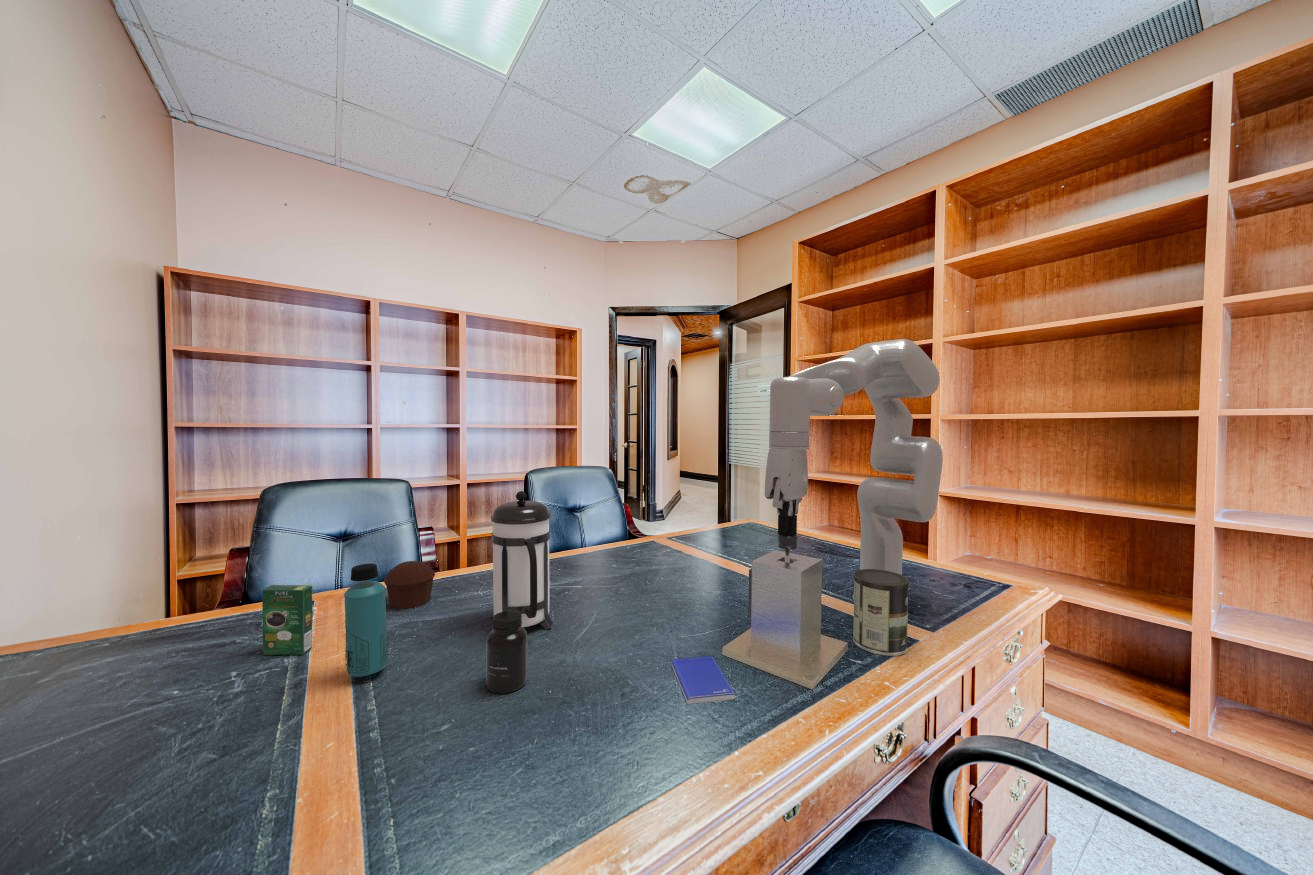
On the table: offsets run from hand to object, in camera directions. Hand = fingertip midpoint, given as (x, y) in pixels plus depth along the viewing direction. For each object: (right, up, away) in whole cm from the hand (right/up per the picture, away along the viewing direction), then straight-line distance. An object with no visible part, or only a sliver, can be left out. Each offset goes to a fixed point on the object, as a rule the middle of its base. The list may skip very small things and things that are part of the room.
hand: (787, 534), depth 92 cm
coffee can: (+20, -24, +5) cm, 32 cm away
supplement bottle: (-52, -24, -10) cm, 58 cm away
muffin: (-87, -22, +25) cm, 93 cm away
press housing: (0, -24, +1) cm, 24 cm away
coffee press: (-55, -23, +12) cm, 61 cm away
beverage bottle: (-77, -24, -8) cm, 81 cm away
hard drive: (-18, -25, -9) cm, 32 cm away
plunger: (0, -17, +1) cm, 16 cm away
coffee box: (-98, -23, 0) cm, 101 cm away
